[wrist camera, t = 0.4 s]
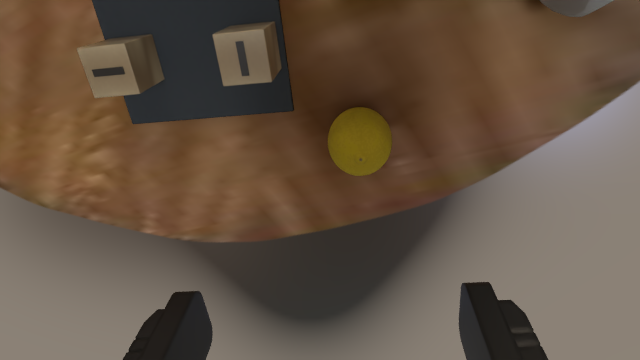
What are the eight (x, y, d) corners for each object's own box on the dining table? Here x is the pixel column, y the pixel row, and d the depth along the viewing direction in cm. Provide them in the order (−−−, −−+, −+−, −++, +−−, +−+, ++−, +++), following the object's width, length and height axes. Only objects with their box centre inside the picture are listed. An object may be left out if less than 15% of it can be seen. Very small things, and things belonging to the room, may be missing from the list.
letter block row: (109, 38, 36) (75, 48, 32) (274, 21, 35) (263, 28, 30) (124, 83, 38) (93, 98, 33) (281, 68, 36) (272, 82, 32)
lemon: (397, 137, 39) (407, 175, 32) (344, 160, 41) (343, 200, 33) (374, 86, 37) (379, 114, 30) (319, 111, 38) (312, 144, 31)
